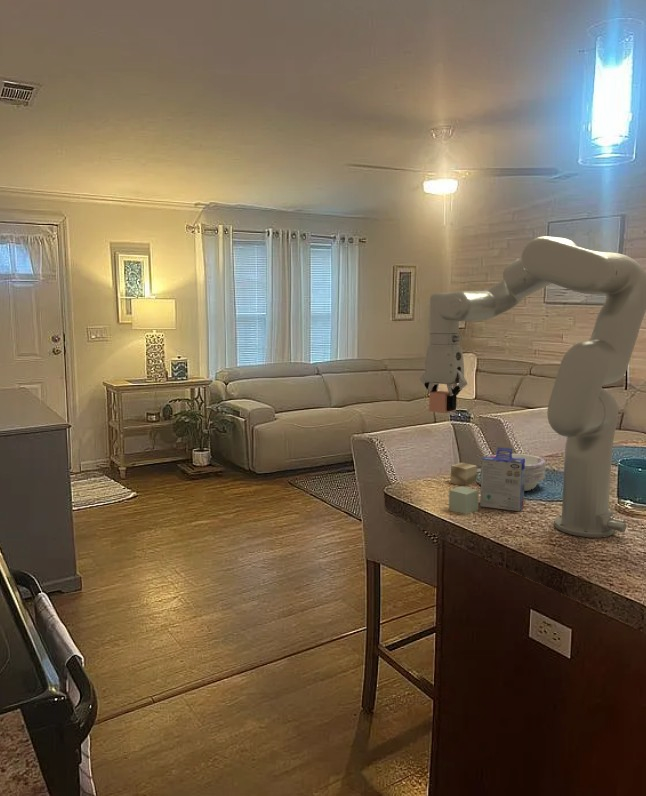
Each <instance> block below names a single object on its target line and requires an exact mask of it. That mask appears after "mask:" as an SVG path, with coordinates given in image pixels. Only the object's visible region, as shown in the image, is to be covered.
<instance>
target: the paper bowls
mask: <svg viewBox="0 0 646 796" xmlns="http://www.w3.org/2000/svg"><path fill="white" fill-rule="evenodd" d="M492 456H496V454H494V455H492ZM512 457H513V458H525V479H524V492H527V491H528V492H529V491H531V489H532V490H534V489H535V488H536V487H537V485H538V483H539V482H541V481H544V480H545V478H546V460H545V459H544V458H543V457H539V456H536V455H531V454H527V453H525V454H523V453H512Z"/></svg>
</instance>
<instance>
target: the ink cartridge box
mask: <svg viewBox="0 0 646 796" xmlns="http://www.w3.org/2000/svg"><path fill="white" fill-rule="evenodd" d="M500 452H508V453H500ZM512 454H513V448H507V447H497V450H496V453H495V455H496V456H493V455H485V456H484V457H483V458H482V459H481V470H480V471H481V472H480V473H481V475H480V476H481V477H480V502H479V506H480V507H483V508H484V507H485V508H491V509H499V510H507V511H516V512H521V510H522V509H523V508H524V503H525V501H524V500H525V498H524V497H525V491H524V479H525V458H513V457H512Z"/></svg>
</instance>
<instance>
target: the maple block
mask: <svg viewBox="0 0 646 796" xmlns="http://www.w3.org/2000/svg"><path fill="white" fill-rule="evenodd" d="M450 466H451V467H450V483H451V484H456V485H458V486H464V487H467V486H471V485H474V484H476V483H477V476H478V475H477V469H478V468H477V465H475V464H470V463H466V462H458V463H456V464H452V465H450Z"/></svg>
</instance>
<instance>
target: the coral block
mask: <svg viewBox="0 0 646 796" xmlns="http://www.w3.org/2000/svg"><path fill="white" fill-rule="evenodd" d="M428 394H429V396H428V397H429V398H428V400H429V401H428V402H429V406H428V407H429V408H428V411H429V412H431V413H432V412H433V413H438V414H439V413H440V414H448V413H452V412H453V413H454V412H456V411H457V409H456V410H452V411H447V396H449V393H448V390H447V391H446V390H437V391H436V392H429V393H428Z"/></svg>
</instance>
